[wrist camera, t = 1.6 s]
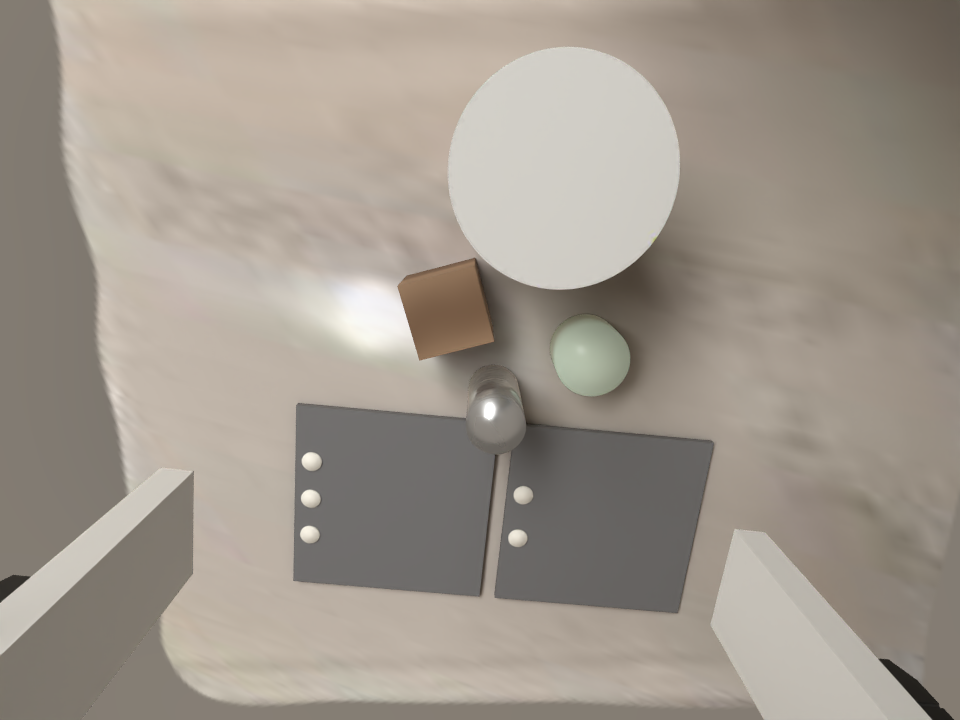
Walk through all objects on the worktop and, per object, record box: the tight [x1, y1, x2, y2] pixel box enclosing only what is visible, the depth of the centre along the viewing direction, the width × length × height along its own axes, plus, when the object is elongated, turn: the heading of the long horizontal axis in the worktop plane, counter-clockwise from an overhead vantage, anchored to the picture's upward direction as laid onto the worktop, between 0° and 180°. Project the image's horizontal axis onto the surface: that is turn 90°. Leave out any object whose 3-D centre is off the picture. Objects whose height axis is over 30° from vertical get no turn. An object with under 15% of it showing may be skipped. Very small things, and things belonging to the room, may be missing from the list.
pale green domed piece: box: [550, 314, 630, 396], centre depth 34 cm, size 4×4×3 cm
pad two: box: [495, 424, 714, 613], centre depth 38 cm, size 12×12×1 cm
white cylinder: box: [448, 47, 680, 290], centre depth 27 cm, size 8×8×12 cm
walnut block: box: [398, 258, 494, 360], centre depth 33 cm, size 4×4×4 cm
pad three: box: [293, 403, 495, 596], centre depth 38 cm, size 12×12×1 cm
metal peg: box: [466, 365, 526, 454], centre depth 33 cm, size 3×3×6 cm
